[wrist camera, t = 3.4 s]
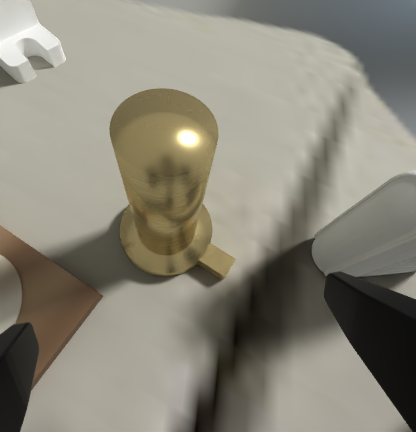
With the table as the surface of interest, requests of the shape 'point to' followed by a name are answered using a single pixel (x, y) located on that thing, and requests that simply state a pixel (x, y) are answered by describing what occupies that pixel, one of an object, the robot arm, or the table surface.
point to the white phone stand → (25, 40)
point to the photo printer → (372, 233)
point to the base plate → (41, 298)
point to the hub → (167, 182)
